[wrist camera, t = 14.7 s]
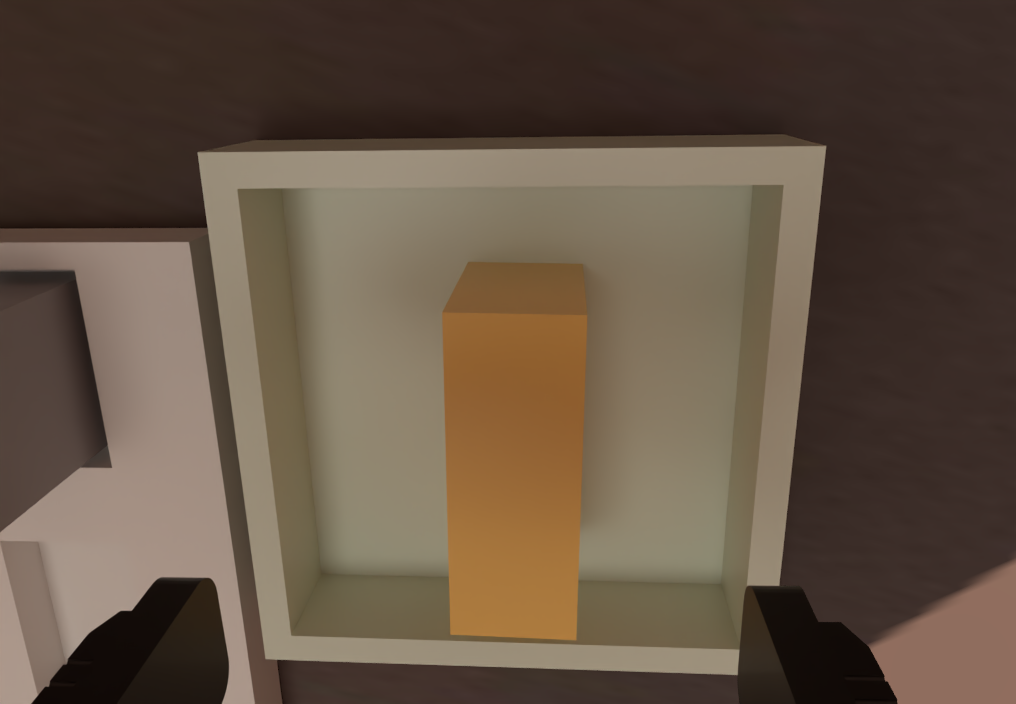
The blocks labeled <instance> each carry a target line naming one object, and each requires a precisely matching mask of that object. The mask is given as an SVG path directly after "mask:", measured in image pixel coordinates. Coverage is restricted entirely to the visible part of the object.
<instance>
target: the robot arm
mask: <svg viewBox="0 0 1016 704" xmlns="http://www.w3.org/2000/svg"><path fill="white" fill-rule="evenodd" d="M228 677H229V659H228V652H227V646H226V640H225V635H224V629H223V623H222V617H221V611H220V605H219V599H218V593H217V589H216V585H215V583H214V581H213V580H212V579H211V578H193V577H160V578H158V579H157V580H156V581H155V582H154V583H153V584H152V585H151V586H150V588H149V589H148V590H147V592H146V593H145V594H144V595H143V597H142V598H141V599H140V601H139V602H138V603H137V605H136V606H135V607H134V608H133V610H132V611H119V612H118V613H117V614H115V615H114V616H112V617H111V618H110V619H108V620H107V621H105V622H104V623H102V624H101V625H100V626H98V627H97V628H95V629H94V630H93V631H91V632H90V633H89V634H88V635H87V636H86V637H85V638H84V640H83V641H82V642H81V643H80V645H79V646H78V647H77V648H76V649H75V651H74V652H73V653H72V654H71V656H70V657H69V658H68V662H67V664H66V665H65V664H63V665H62V667H61V668H60V669H59V670H58V671H57V673H56V674H55V675H54V676H53V678H52V679H51V680H50V684H49V687H44V689H43V690H42V691H41V692H40V693H39V695H38V696H37V697H36V698H35V700H34V701H33V702H32V703H31V704H222V702H223V699H224V696H225V693H226V689H227V684H228ZM738 694H739V703H740V704H897V698H896V697H895V695H894V693H893V691H892V689H891V687H890V685H889V684H888V682H885V680H884V674H883V672H882V670H881V669H880V667H879V665H878V663H877V661H876V660H875V658H874V655H873V654H872V652H871V650H870V648H869V647H868V646H867V645H866V644H865V643H864V642H863V641H861V640H860V639H859V638H858V637H857V636H856V635H855V634H854V633H852V632H851V631H850V630H849V629H848V628H847V627H846V626H844V625H843V624H842V623H841V622H818V621H817V618H816V616H815V614H814V612H813V610H812V608H811V606H810V604H809V601H808V599H807V597H806V595H805V593H804V591H803V589H802V588H801V587H800V586H755V585H748V586H747V587H746V590H745V594H744V602H743V614H742V626H741V638H740V649H739V661H738Z"/></svg>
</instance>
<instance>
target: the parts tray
mask: <svg viewBox="0 0 1016 704" xmlns="http://www.w3.org/2000/svg"><path fill="white" fill-rule="evenodd" d="M825 153H826V146H824V145H820V144H817V143H813V142H810V141H806V140H803V139H799V138H795V137H792V136H788V135H785V134H771V135H681V136H591V137H501V138H410V139H320V140H253V141H248V142H244V143H239V144H234V145H230V146H225V147H221V148H216V149H211V150H207V151H202V152H198V160H199V167H200V174H201V182H202V189H203V197H204V204H205V212H206V219H207V227H208V234H209V241H210V249H211V256H212V264H213V271H214V279H215V286H216V294H217V301H218V308H219V316H220V323H221V331H222V338H223V346H224V353H225V360H226V368H227V375H228V383H229V390H230V398H231V405H232V413H233V420H234V427H235V435H236V442H237V450H238V457H239V465H240V472H241V480H242V487H243V494H244V502H245V509H246V517H247V524H248V532H249V539H250V547H251V554H252V561H253V569H254V576H255V584H256V591H257V599H258V606H259V613H260V621H261V628H262V636H263V643H264V651H265V658H266V659H273V660H303V661H334V662H364V663H394V664H425V665H455V666H486V667H516V668H546V669H577V670H607V671H637V672H668V673H698V674H729V675H738V661H739V649H740V638H741V626H742V614H743V602H744V594H745V590H746V587H747V586H748V585H755V586H779V583H780V573H781V564H782V555H783V545H784V536H785V527H786V517H787V508H788V499H789V489H790V480H791V470H792V461H793V452H794V442H795V433H796V424H797V414H798V405H799V396H800V386H801V377H802V368H803V358H804V349H805V340H806V330H807V321H808V312H809V302H810V293H811V283H812V274H813V265H814V255H815V246H816V237H817V227H818V218H819V209H820V199H821V190H822V181H823V171H824V162H825ZM468 262H505V263H567V264H583V272H584V283H585V294H586V305H587V343H586V372H585V402H584V431H583V460H582V489H581V518H580V547H579V576H578V605H577V634H576V640H559V639H537V638H514V637H492V636H470V635H450V603H449V563H448V524H447V485H446V445H445V406H444V366H443V327H442V312H443V310H444V308H445V306H446V304H447V302H448V300H449V298H450V296H451V294H452V292H453V290H454V288H455V286H456V284H457V283H458V281H459V279H460V277H461V275H462V273H463V271H464V269H465V267H466V265H467V263H468Z"/></svg>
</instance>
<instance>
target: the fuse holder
mask: <svg viewBox="0 0 1016 704" xmlns="http://www.w3.org/2000/svg"><path fill="white" fill-rule="evenodd" d="M0 272H75V275H76V280H77V285H78V291H79V296H80V301H81V306H82V312H83V317H84V322H85V327H86V333H87V338H88V343H89V349H90V354H91V359H92V364H93V370H94V375H95V380H96V385H97V391H98V396H99V401H100V406H101V412H102V417H103V422H104V427H105V433H106V438H107V443H108V445H107V446H106V447H105V448H103V449H102V450H101V451H100V452H99V453H97V454H96V455H95V456H94V457H92V458H91V459H90V460H89V461H87V462H86V463H85V464H84V465H83V466H81V467H80V468H79V469H78V470H76V471H75V472H74V473H73V474H71V475H70V476H69V477H68V478H67V479H65V480H64V481H63V482H62V483H60V484H59V485H58V486H57V487H55V488H54V489H53V490H52V491H51V492H49V493H48V494H47V495H46V496H44V497H43V498H42V499H41V500H39V501H38V502H37V503H36V504H35V505H33V506H32V507H31V508H30V509H28V510H27V511H26V512H25V513H23V514H22V515H21V516H20V517H18V518H17V519H16V520H15V521H14V522H12V523H11V524H10V525H9V526H7V527H6V528H5V529H4V530H2V531H1V532H0V704H31V703H32V702H33V701H34V700H35V698H36V697H37V696H38V695H39V693H40V692H41V691H42V690H43V689H44V687H49V684H50V680H51V679H52V678H53V676H54V675H55V674H56V673H57V671H58V670H59V669H60V668H61V667H62V665H63V664H65V665H66V664H67V662H68V658H69V657H70V656H71V654H72V653H73V652H74V651H75V649H76V648H77V647H78V646H79V645H80V643H81V642H82V641H83V640H84V638H85V637H86V636H87V635H88V634H89V633H90V632H91V631H93V630H94V629H95V628H97V627H98V626H100V625H101V624H102V623H104V622H105V621H107V620H108V619H110V618H111V617H112V616H114V615H115V614H117V613H118V612H119V611H132V610H133V608H134V607H135V606H136V605H137V603H138V602H139V601H140V599H141V598H142V597H143V595H144V594H145V593H146V592H147V590H148V589H149V588H150V586H151V585H152V584H153V583H154V582H155V581H156V580H157V579H158V578H160V577H193V578H211V579H212V580H213V581H214V583H215V585H216V589H217V593H218V599H219V605H220V611H221V617H222V623H223V629H224V635H225V640H226V646H227V652H228V659H229V677H228V684H227V689H226V693H225V696H224V699H223V702H222V704H282V696H281V689H280V681H279V673H278V665H277V660H273V659H266V658H265V651H264V643H263V636H262V628H261V621H260V613H259V606H258V599H257V591H256V584H255V576H254V569H253V561H252V554H251V547H250V539H249V532H248V524H247V517H246V509H245V502H244V494H243V487H242V480H241V472H240V465H239V457H238V450H237V442H236V435H235V427H234V420H233V413H232V405H231V398H230V390H229V383H228V375H227V368H226V360H225V353H224V346H223V338H222V331H221V323H220V316H219V308H218V301H217V294H216V286H215V279H214V271H213V264H212V256H211V249H210V241H209V234H208V228H29V229H0Z"/></svg>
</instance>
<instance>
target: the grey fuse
mask: <svg viewBox="0 0 1016 704" xmlns="http://www.w3.org/2000/svg"><path fill="white" fill-rule="evenodd" d="M107 445H108V443H107V438H106V433H105V427H104V422H103V417H102V412H101V406H100V401H99V396H98V391H97V385H96V380H95V375H94V370H93V364H92V359H91V354H90V349H89V343H88V338H87V333H86V327H85V322H84V317H83V312H82V306H81V301H80V296H79V291H78V285H77V280H76V275H75V272H0V532H1V531H2V530H4V529H5V528H6V527H7V526H9V525H10V524H11V523H12V522H14V521H15V520H16V519H17V518H18V517H20V516H21V515H22V514H23V513H25V512H26V511H27V510H28V509H30V508H31V507H32V506H33V505H35V504H36V503H37V502H38V501H39V500H41V499H42V498H43V497H44V496H46V495H47V494H48V493H49V492H51V491H52V490H53V489H54V488H55V487H57V486H58V485H59V484H60V483H62V482H63V481H64V480H65V479H67V478H68V477H69V476H70V475H71V474H73V473H74V472H75V471H76V470H78V469H79V468H80V467H81V466H83V465H84V464H85V463H86V462H87V461H89V460H90V459H91V458H92V457H94V456H95V455H96V454H97V453H99V452H100V451H101V450H102V449H103V448H105V447H106V446H107Z"/></svg>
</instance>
